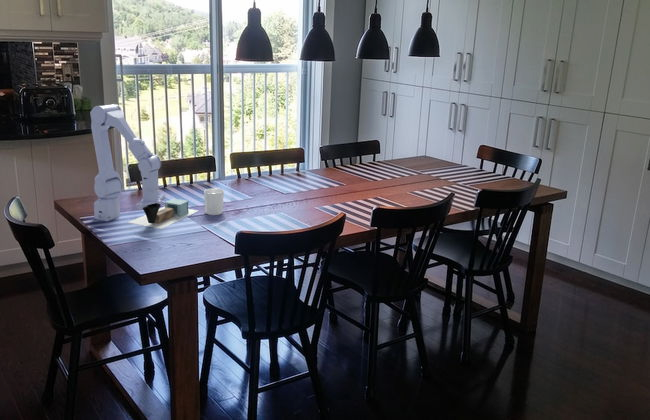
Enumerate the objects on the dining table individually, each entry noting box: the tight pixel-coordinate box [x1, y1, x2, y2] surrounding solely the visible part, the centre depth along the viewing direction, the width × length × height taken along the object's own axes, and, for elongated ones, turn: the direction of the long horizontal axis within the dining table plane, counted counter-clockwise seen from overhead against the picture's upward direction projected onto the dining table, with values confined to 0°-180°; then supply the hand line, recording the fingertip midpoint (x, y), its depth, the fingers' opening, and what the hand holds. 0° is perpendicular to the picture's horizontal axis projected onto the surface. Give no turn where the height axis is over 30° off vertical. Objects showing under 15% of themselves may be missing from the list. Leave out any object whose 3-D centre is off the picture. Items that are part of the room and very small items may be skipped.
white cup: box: [203, 187, 225, 216], centre depth 246 cm, size 8×8×10 cm
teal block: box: [164, 197, 189, 217], centre depth 242 cm, size 6×7×5 cm
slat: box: [155, 207, 174, 224], centre depth 234 cm, size 10×3×4 cm, turn 160°
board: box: [127, 206, 199, 230], centre depth 239 cm, size 26×15×1 cm, turn 160°
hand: (151, 222), depth 228 cm, fingers closed
